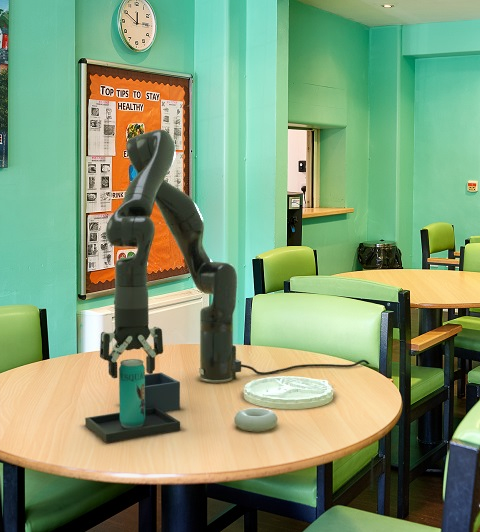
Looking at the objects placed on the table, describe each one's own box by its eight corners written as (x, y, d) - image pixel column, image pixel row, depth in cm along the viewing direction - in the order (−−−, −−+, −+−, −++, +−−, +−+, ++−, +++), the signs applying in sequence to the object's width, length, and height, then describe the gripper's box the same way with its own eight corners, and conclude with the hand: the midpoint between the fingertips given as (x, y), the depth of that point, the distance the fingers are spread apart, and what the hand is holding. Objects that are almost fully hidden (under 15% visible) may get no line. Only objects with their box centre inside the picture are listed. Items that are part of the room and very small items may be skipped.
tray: (156, 414, 196) (156, 406, 196) (180, 430, 185) (180, 421, 185) (85, 426, 187) (85, 417, 187) (106, 443, 176) (106, 434, 175)
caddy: (161, 398, 210) (161, 372, 209) (180, 409, 201) (180, 382, 200) (121, 405, 204) (120, 377, 203) (138, 416, 195) (138, 388, 194)
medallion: (224, 396, 213) (224, 387, 213) (293, 377, 233) (293, 369, 232) (292, 415, 197) (292, 405, 197) (359, 393, 217) (359, 384, 217)
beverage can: (139, 430, 183) (139, 365, 181) (115, 428, 184) (114, 363, 182) (148, 422, 188) (148, 359, 187) (125, 421, 190) (124, 358, 188)
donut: (275, 420, 194) (233, 420, 193) (275, 406, 193) (233, 405, 192) (279, 433, 184) (234, 433, 183) (279, 419, 183) (235, 418, 182)
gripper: (107, 309, 176) (108, 383, 178) (167, 304, 183) (168, 375, 185) (95, 304, 182) (96, 375, 184) (154, 299, 190) (154, 368, 191)
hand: (132, 375), depth 185 cm, fingers open, 8 cm apart
